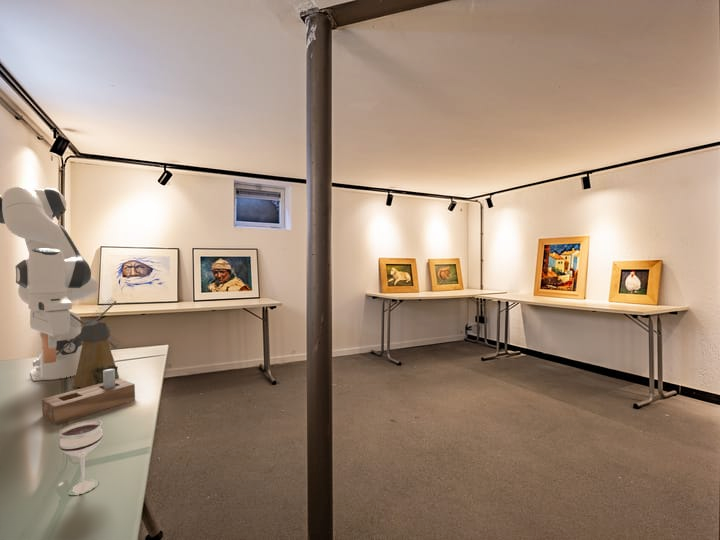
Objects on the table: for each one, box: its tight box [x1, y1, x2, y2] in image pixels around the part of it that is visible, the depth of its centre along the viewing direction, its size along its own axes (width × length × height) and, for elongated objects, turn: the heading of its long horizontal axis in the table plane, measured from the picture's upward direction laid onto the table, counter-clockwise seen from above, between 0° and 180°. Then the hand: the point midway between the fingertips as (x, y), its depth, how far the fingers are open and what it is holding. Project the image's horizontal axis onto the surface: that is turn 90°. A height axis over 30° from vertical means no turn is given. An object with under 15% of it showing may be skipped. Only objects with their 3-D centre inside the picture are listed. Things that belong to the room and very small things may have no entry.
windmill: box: [56, 297, 122, 389], centre depth 129 cm, size 21×14×30 cm, turn 148°
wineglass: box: [58, 419, 104, 493], centre depth 69 cm, size 7×7×12 cm
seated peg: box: [103, 369, 115, 390], centre depth 111 cm, size 3×3×10 cm
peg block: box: [41, 377, 136, 426], centre depth 107 cm, size 10×20×5 cm, turn 147°
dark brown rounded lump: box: [91, 364, 118, 385], centre depth 120 cm, size 8×7×8 cm
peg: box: [42, 333, 56, 363], centre depth 108 cm, size 3×3×10 cm
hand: (49, 346), depth 108 cm, fingers closed on peg, 3 cm apart
